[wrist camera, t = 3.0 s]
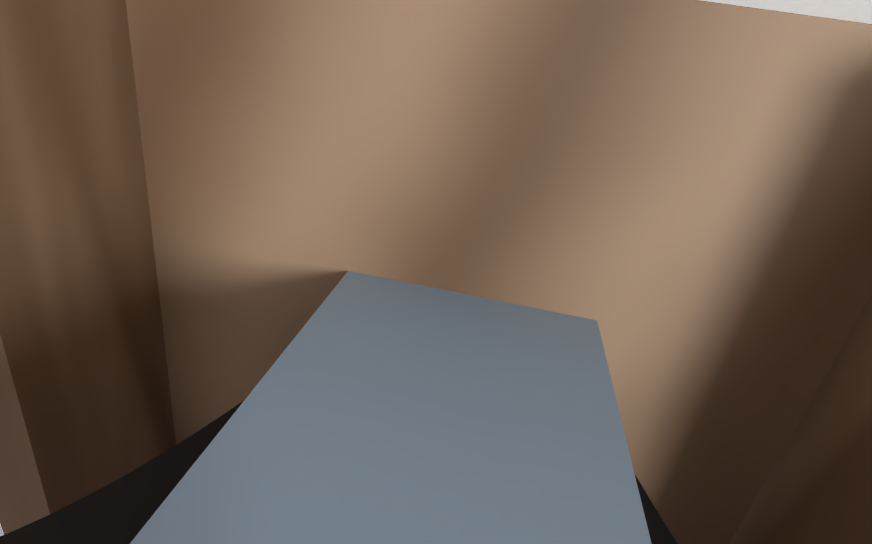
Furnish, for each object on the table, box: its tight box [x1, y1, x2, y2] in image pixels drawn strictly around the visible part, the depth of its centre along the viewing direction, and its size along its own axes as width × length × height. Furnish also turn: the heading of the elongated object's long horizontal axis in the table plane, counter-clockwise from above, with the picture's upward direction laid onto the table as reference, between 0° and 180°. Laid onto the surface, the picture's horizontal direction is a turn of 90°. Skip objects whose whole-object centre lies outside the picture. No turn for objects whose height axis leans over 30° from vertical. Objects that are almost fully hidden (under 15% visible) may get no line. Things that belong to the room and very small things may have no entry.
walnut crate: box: [0, 0, 872, 544], centre depth 10 cm, size 16×14×4 cm
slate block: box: [130, 271, 652, 544], centre depth 8 cm, size 5×5×7 cm
